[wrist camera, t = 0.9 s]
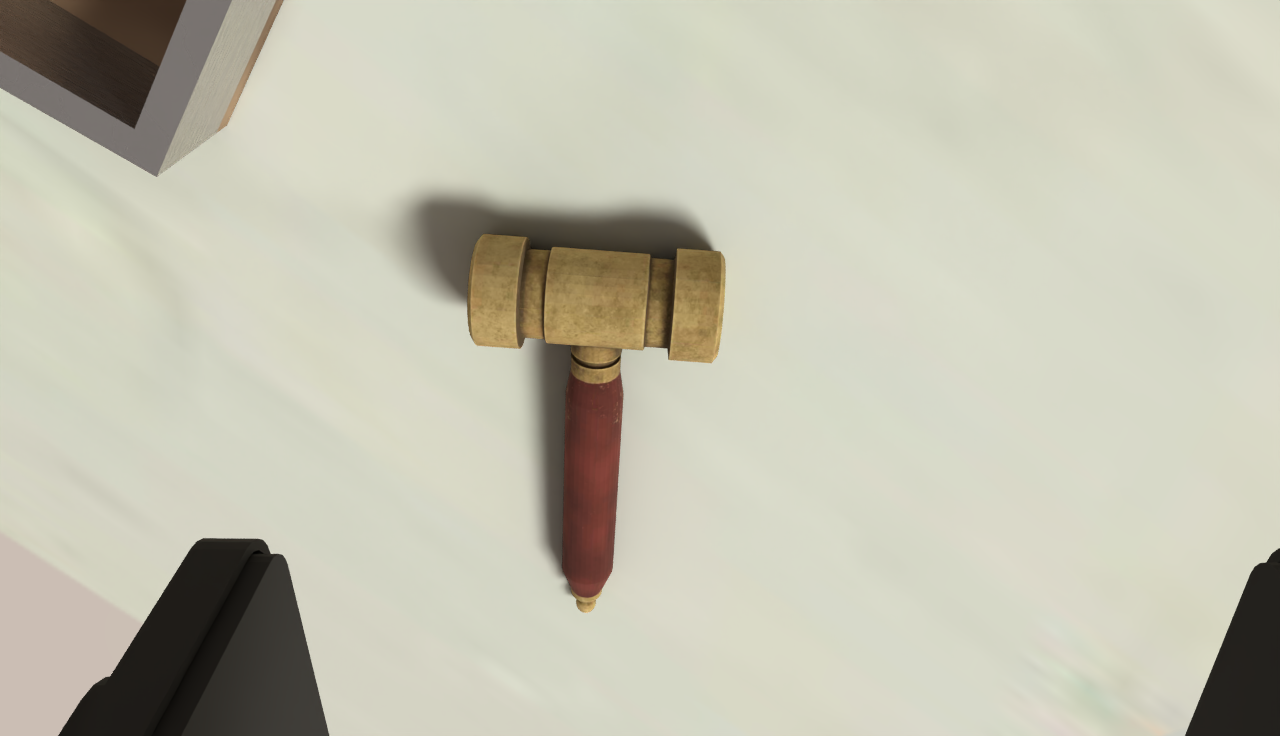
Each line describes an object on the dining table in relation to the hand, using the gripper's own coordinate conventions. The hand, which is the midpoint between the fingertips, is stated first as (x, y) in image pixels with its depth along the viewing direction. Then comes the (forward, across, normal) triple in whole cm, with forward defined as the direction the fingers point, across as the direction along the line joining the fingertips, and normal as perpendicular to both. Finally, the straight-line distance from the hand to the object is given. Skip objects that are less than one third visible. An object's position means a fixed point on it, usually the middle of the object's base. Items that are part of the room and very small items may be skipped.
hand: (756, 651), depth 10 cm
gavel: (+32, +4, +18) cm, 37 cm away
